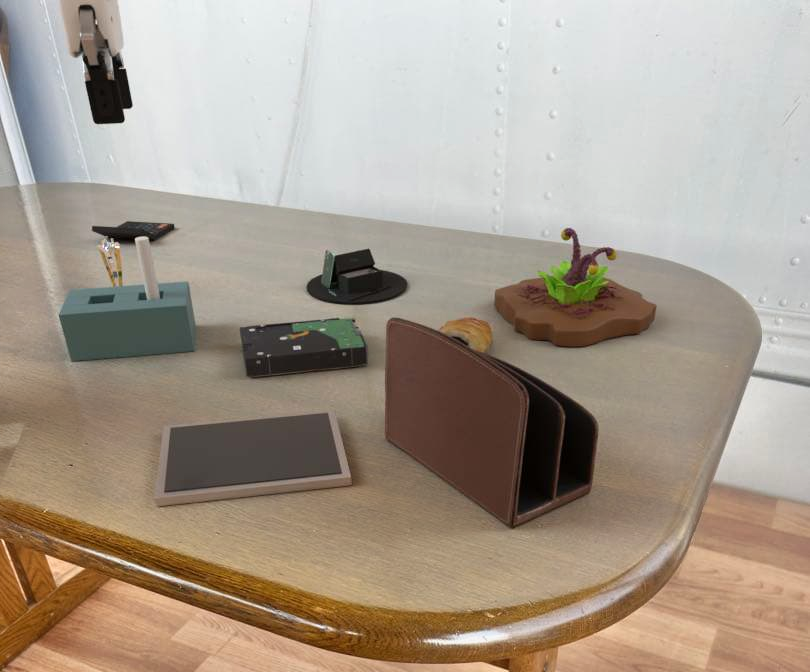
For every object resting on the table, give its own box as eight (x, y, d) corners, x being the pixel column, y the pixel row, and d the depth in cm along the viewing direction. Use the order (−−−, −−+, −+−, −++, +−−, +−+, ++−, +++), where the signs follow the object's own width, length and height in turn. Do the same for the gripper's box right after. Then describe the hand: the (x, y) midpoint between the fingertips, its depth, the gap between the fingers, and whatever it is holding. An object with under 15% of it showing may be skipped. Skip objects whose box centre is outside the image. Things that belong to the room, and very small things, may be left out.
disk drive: (247, 381, 96) (370, 366, 98) (243, 359, 94) (369, 344, 96) (241, 347, 104) (355, 334, 106) (238, 326, 102) (353, 313, 105)
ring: (133, 301, 118) (121, 244, 113) (110, 304, 117) (97, 247, 112) (126, 286, 123) (114, 232, 118) (104, 289, 122) (91, 234, 117)
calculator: (174, 228, 148) (171, 211, 146) (144, 247, 139) (140, 229, 137) (128, 226, 150) (124, 209, 148) (95, 244, 141) (90, 226, 139)
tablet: (156, 507, 74) (154, 496, 73) (165, 434, 85) (163, 424, 85) (352, 485, 77) (351, 475, 76) (335, 417, 88) (334, 408, 87)
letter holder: (510, 531, 70) (522, 381, 62) (383, 440, 83) (379, 307, 75) (592, 494, 75) (614, 350, 67) (459, 413, 88) (463, 285, 80)
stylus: (155, 343, 105) (134, 240, 97) (156, 338, 106) (135, 236, 98) (167, 342, 105) (147, 239, 97) (168, 337, 106) (148, 235, 99)
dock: (194, 351, 103) (186, 305, 99) (71, 361, 100) (58, 314, 97) (195, 325, 110) (188, 281, 106) (80, 334, 108) (69, 289, 104)
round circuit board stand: (373, 264, 130) (372, 229, 126) (426, 290, 120) (426, 252, 116) (289, 282, 123) (285, 245, 120) (338, 312, 113) (335, 272, 110)
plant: (588, 283, 121) (597, 204, 115) (676, 327, 107) (692, 240, 100) (471, 304, 115) (474, 222, 108) (548, 355, 100) (557, 263, 94)
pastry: (453, 330, 107) (454, 302, 105) (502, 337, 105) (504, 309, 103) (429, 357, 100) (429, 328, 98) (481, 366, 98) (483, 335, 96)
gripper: (50, -76, 86) (89, 105, 96) (18, -80, 72) (67, 131, 83) (123, -77, 87) (154, 102, 97) (105, -81, 74) (143, 127, 84)
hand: (114, 115), depth 90 cm, fingers open, 9 cm apart
